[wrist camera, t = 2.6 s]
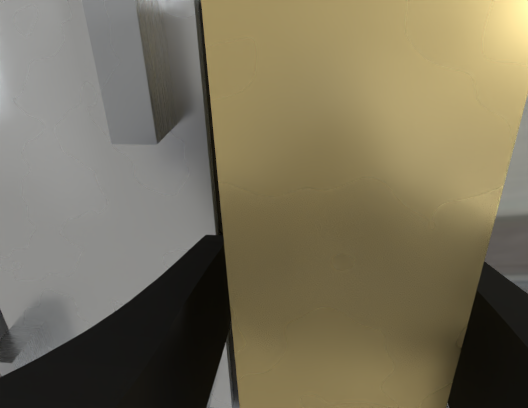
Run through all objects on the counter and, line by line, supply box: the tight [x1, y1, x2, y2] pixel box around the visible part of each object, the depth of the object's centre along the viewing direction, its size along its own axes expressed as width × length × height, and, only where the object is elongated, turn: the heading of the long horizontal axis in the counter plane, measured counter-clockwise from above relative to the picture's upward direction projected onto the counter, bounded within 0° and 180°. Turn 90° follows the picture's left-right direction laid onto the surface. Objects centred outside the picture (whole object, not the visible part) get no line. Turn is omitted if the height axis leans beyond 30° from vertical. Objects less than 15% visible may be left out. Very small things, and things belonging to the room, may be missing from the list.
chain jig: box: [0, 0, 234, 408], centre depth 11 cm, size 14×8×2 cm, turn 2°
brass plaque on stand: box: [201, 0, 528, 408], centre depth 9 cm, size 13×3×6 cm, turn 2°
